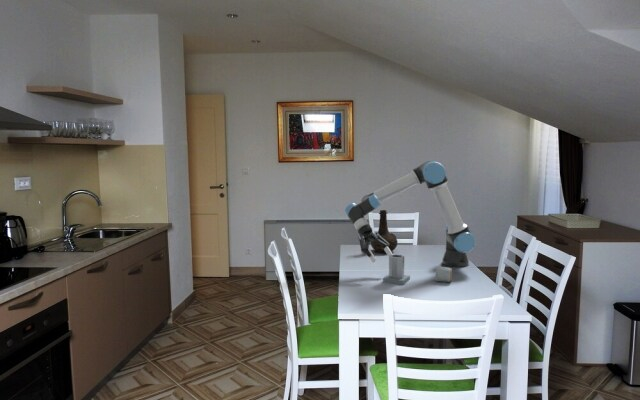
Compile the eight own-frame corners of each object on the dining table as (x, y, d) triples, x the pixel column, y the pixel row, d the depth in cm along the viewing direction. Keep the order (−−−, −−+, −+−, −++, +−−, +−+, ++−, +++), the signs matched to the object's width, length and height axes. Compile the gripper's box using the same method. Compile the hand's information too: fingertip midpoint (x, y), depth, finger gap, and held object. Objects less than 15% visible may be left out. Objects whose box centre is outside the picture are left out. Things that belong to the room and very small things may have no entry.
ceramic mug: (451, 283, 229) (452, 268, 229) (435, 282, 232) (435, 267, 231) (451, 278, 239) (452, 264, 239) (435, 277, 242) (436, 263, 241)
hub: (405, 276, 237) (405, 255, 236) (401, 279, 231) (401, 258, 230) (392, 274, 240) (392, 254, 239) (387, 277, 234) (387, 256, 233)
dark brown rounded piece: (401, 253, 299) (401, 211, 296) (375, 255, 295) (376, 212, 292) (391, 248, 316) (391, 208, 314) (366, 249, 312) (366, 209, 310)
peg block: (410, 279, 238) (410, 264, 237) (403, 284, 228) (403, 269, 227) (389, 276, 243) (390, 262, 242) (382, 282, 233) (382, 266, 232)
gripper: (375, 229, 262) (394, 259, 252) (343, 234, 246) (363, 267, 236) (382, 221, 257) (402, 251, 247) (350, 226, 241) (370, 258, 231)
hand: (383, 259), depth 242 cm, fingers open, 13 cm apart
